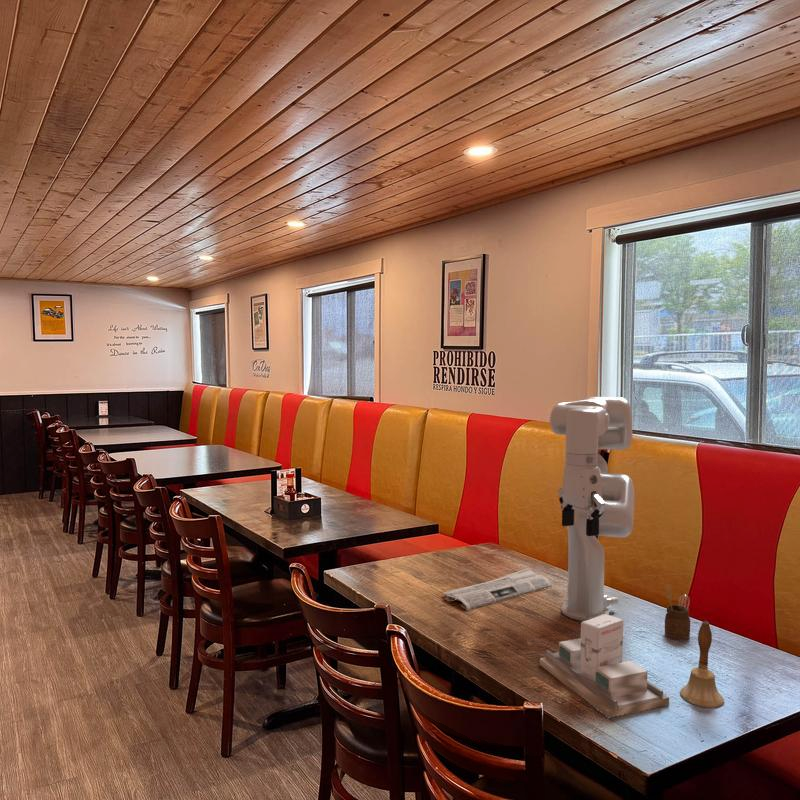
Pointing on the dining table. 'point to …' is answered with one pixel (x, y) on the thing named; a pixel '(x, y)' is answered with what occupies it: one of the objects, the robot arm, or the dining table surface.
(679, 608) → the utensil holder
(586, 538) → the robot arm
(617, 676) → the rail board
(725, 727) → the dining table surface
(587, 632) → the ink box
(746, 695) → the dining table surface
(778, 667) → the dining table surface
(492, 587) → the newspaper
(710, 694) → the hand bell
